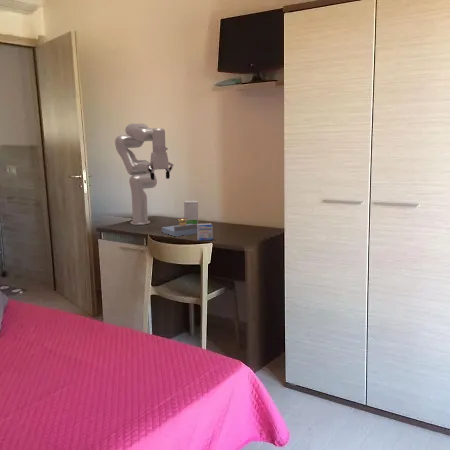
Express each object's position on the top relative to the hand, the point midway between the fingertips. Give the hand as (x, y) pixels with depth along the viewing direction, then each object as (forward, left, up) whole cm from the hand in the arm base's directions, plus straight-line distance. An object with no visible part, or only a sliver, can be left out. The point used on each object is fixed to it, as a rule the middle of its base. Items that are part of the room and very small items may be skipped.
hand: (160, 179), depth 306 cm
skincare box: (0, +20, -31) cm, 36 cm away
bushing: (+16, +6, -30) cm, 35 cm away
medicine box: (+41, +6, -31) cm, 52 cm away
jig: (+16, +6, -30) cm, 35 cm away
